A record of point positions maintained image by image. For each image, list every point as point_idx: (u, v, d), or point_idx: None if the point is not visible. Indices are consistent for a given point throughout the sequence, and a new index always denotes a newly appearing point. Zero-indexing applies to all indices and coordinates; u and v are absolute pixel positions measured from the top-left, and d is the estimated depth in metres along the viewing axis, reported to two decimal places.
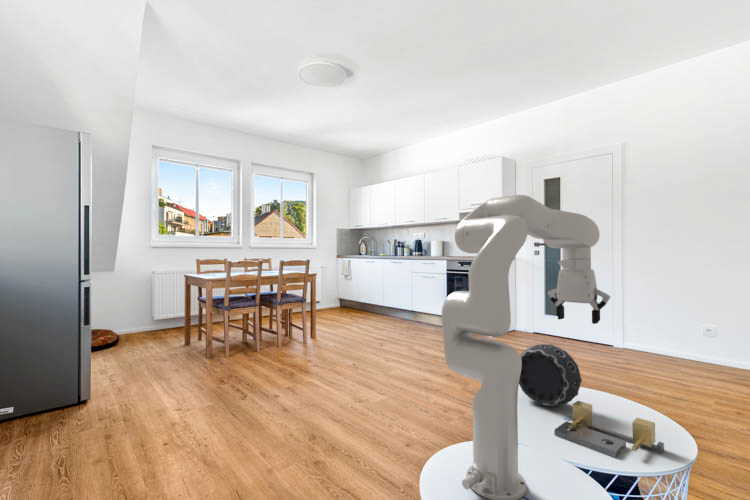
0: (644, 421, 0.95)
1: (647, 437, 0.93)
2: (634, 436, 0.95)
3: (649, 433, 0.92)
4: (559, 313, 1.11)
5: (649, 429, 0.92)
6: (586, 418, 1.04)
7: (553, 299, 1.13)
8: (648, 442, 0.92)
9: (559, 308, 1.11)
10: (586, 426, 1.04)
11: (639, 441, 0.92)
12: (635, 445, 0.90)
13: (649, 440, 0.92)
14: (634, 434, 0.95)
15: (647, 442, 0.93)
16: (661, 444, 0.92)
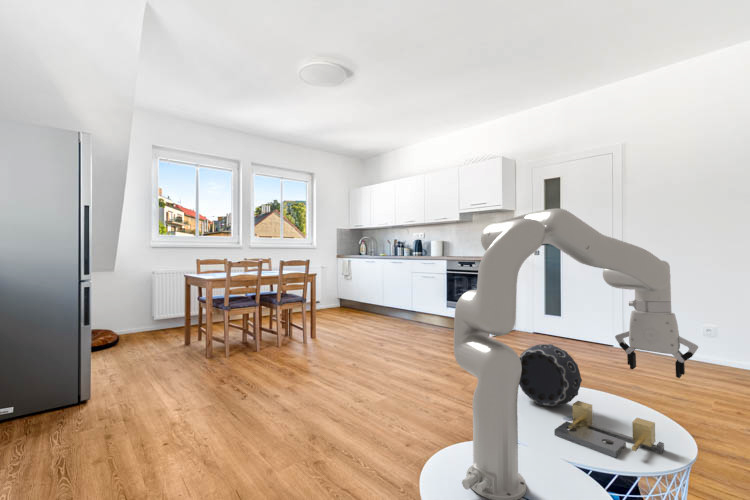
0: (644, 421, 0.95)
1: (647, 437, 0.93)
2: (634, 436, 0.95)
3: (649, 433, 0.92)
4: (632, 362, 0.96)
5: (649, 429, 0.92)
6: (586, 418, 1.04)
7: (623, 345, 0.98)
8: (648, 442, 0.92)
9: (631, 356, 0.96)
10: (586, 426, 1.04)
11: (639, 441, 0.92)
12: (635, 445, 0.90)
13: (649, 440, 0.92)
14: (634, 434, 0.95)
15: (647, 442, 0.93)
16: (661, 444, 0.92)
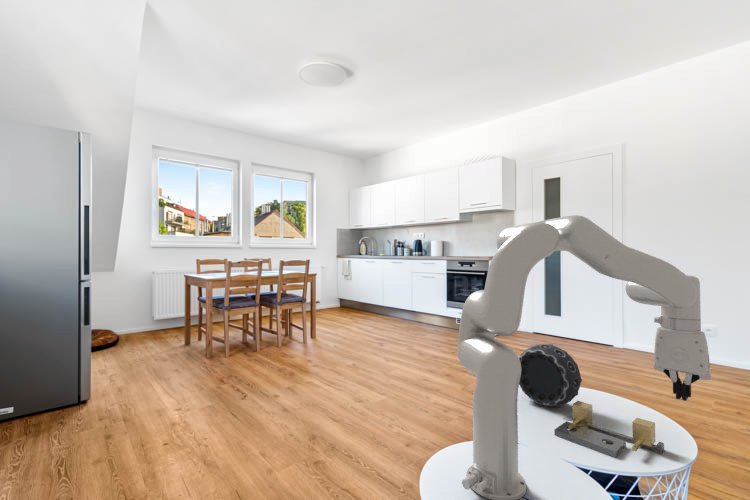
0: (644, 421, 0.95)
1: (647, 437, 0.93)
2: (634, 436, 0.95)
3: (649, 433, 0.92)
4: (678, 391, 0.88)
5: (649, 429, 0.92)
6: (586, 418, 1.04)
7: (668, 372, 0.90)
8: (648, 442, 0.92)
9: (678, 385, 0.88)
10: (586, 426, 1.04)
11: (639, 441, 0.92)
12: (635, 445, 0.90)
13: (649, 440, 0.92)
14: (634, 434, 0.95)
15: (647, 442, 0.93)
16: (661, 444, 0.92)
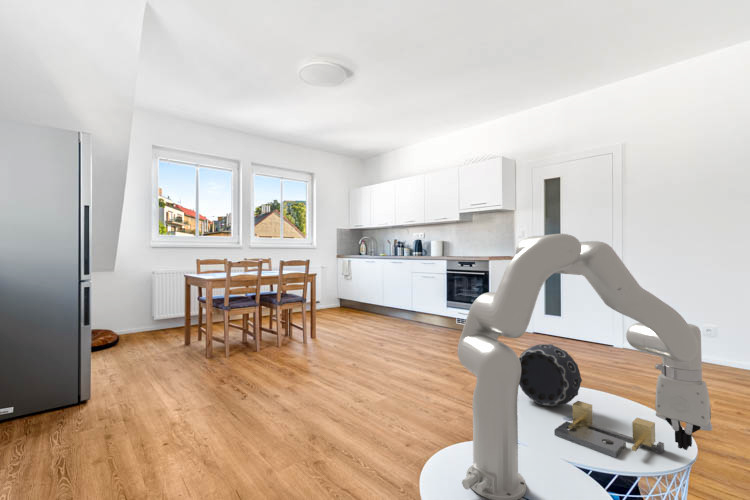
0: (644, 421, 0.95)
1: (647, 437, 0.93)
2: (634, 436, 0.95)
3: (649, 433, 0.92)
4: (680, 441, 0.88)
5: (649, 429, 0.92)
6: (586, 418, 1.04)
7: (670, 420, 0.90)
8: (648, 442, 0.92)
9: (680, 434, 0.88)
10: (586, 426, 1.04)
11: (639, 441, 0.92)
12: (635, 445, 0.90)
13: (649, 440, 0.92)
14: (634, 434, 0.95)
15: (647, 442, 0.93)
16: (661, 444, 0.92)
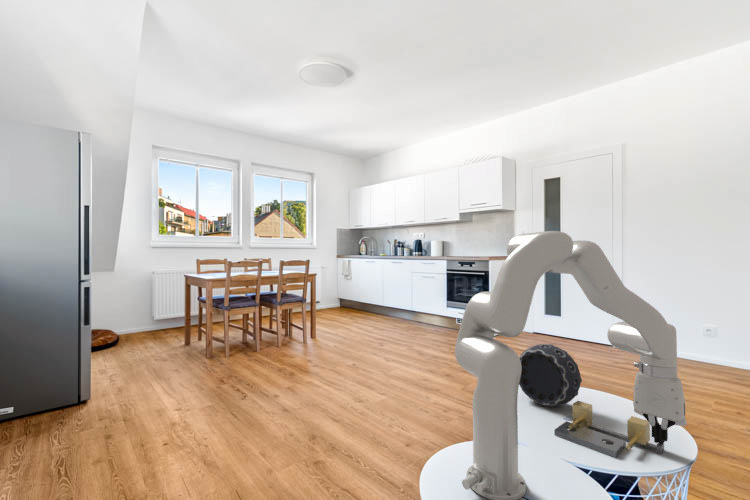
0: (639, 419, 0.96)
1: (642, 435, 0.93)
2: (629, 434, 0.96)
3: (644, 432, 0.93)
4: (656, 435, 0.92)
5: (644, 427, 0.93)
6: (586, 418, 1.04)
7: (647, 416, 0.94)
8: (643, 440, 0.93)
9: (656, 429, 0.92)
10: (586, 426, 1.04)
11: (634, 439, 0.93)
12: (630, 443, 0.91)
13: (644, 438, 0.93)
14: (629, 432, 0.96)
15: (641, 440, 0.93)
16: (661, 444, 0.92)
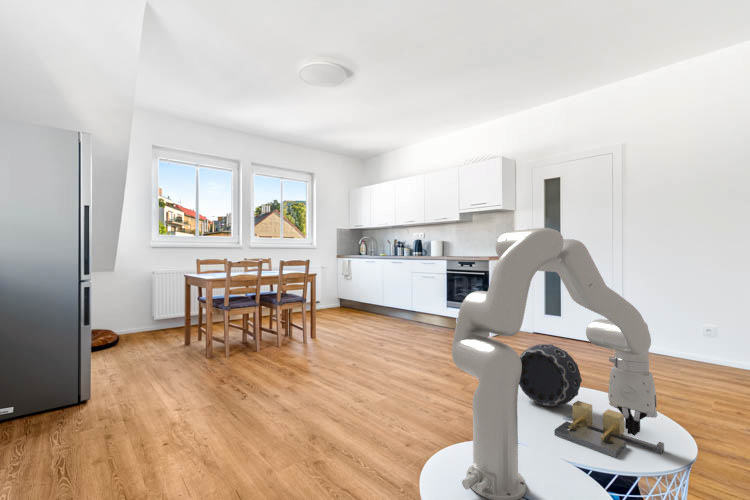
0: (614, 412, 1.01)
1: (616, 427, 0.98)
2: (604, 426, 1.00)
3: (618, 424, 0.98)
4: (629, 427, 0.96)
5: (618, 420, 0.98)
6: (586, 418, 1.04)
7: (621, 408, 0.98)
8: (617, 432, 0.98)
9: (629, 421, 0.96)
10: (586, 426, 1.04)
11: (608, 431, 0.97)
12: (604, 435, 0.95)
13: (618, 430, 0.98)
14: (604, 425, 1.00)
15: (616, 432, 0.98)
16: (661, 444, 0.92)
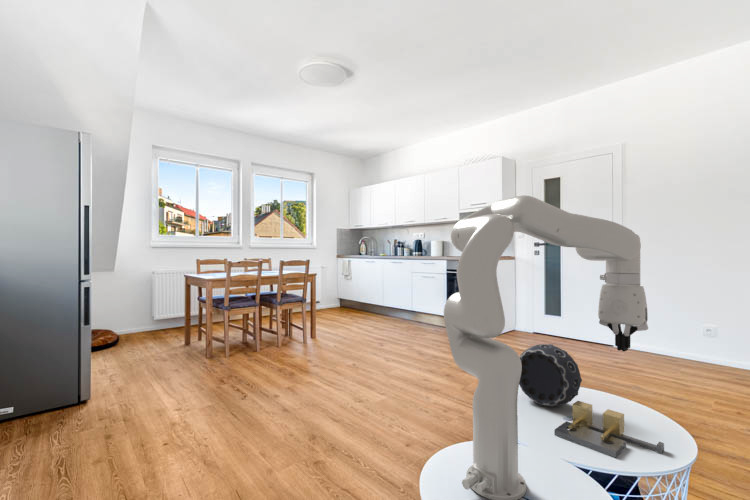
0: (614, 412, 1.01)
1: (616, 427, 0.98)
2: (604, 426, 1.00)
3: (618, 424, 0.98)
4: (619, 343, 0.93)
5: (618, 420, 0.98)
6: (586, 418, 1.04)
7: (611, 326, 0.95)
8: (617, 432, 0.98)
9: (619, 337, 0.93)
10: (586, 426, 1.04)
11: (608, 431, 0.97)
12: (604, 434, 0.95)
13: (618, 430, 0.98)
14: (604, 425, 1.00)
15: (616, 432, 0.98)
16: (661, 444, 0.92)
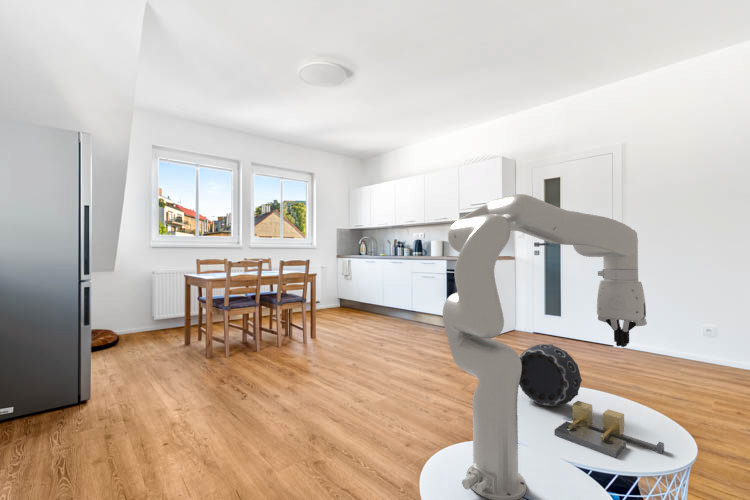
0: (614, 412, 1.01)
1: (616, 427, 0.98)
2: (604, 426, 1.00)
3: (618, 424, 0.98)
4: (618, 339, 0.93)
5: (618, 420, 0.98)
6: (586, 418, 1.04)
7: (610, 321, 0.95)
8: (617, 432, 0.98)
9: (618, 333, 0.93)
10: (586, 426, 1.04)
11: (608, 431, 0.97)
12: (604, 434, 0.95)
13: (618, 430, 0.98)
14: (604, 425, 1.00)
15: (616, 432, 0.98)
16: (661, 444, 0.92)
